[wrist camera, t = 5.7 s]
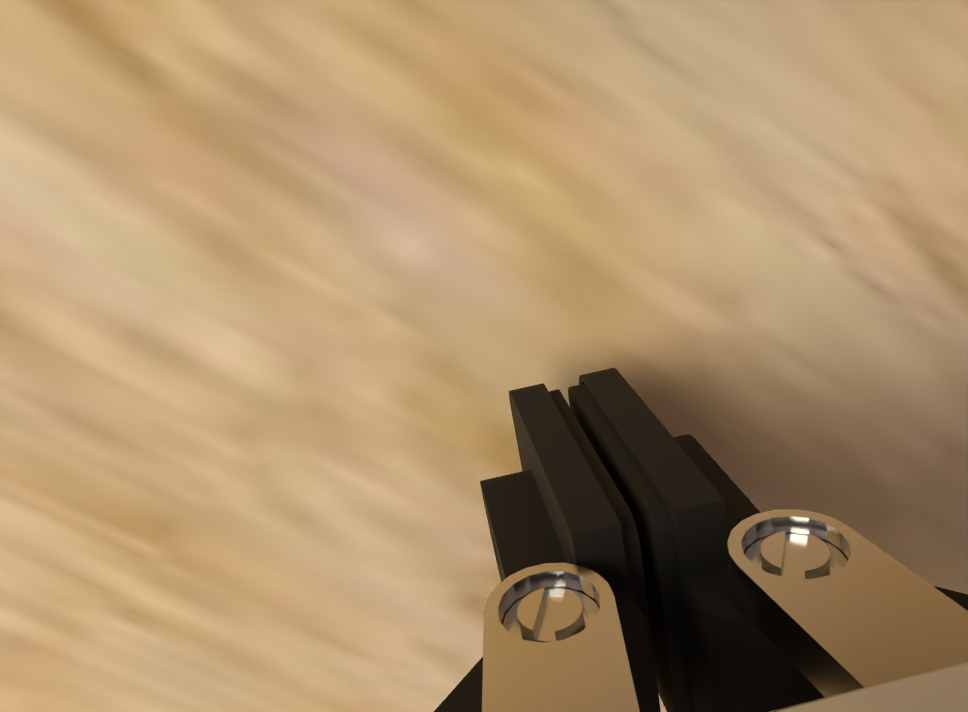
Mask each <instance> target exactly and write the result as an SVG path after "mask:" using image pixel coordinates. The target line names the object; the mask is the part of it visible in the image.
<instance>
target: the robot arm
mask: <svg viewBox="0 0 968 712" xmlns="http://www.w3.org/2000/svg"><path fill="white" fill-rule="evenodd" d="M568 395H569V402H570V407H569V405H568V404H567V402H566V400H565V399H564V397H563V395H562V393H561V392H560V390H554V391H550V392H548V390H547V388H546V387H545V385H544V384H539V385H534V386H529V387H525V388H520V389H516V390H511V391H509V398H510V405H511V410H512V416H513V421H514V427H515V432H516V438H517V443H518V449H519V454H520V460H521V465H522V471H523V472H518V473H514V474H510V475H505V476H501V477H496V478H492V479H487V480H483V481H480V484H481V489H482V495H483V500H484V504H485V509H486V514H487V519H488V524H489V528H490V533H491V538H492V543H493V547H494V552H495V556H496V561H497V565H498V569H499V574H500V578H501V583H500V584H499V585H497V586H496V587H495V589H494V590H493V592H492V593H491V595H490V596H489V597H488V599H487V603H486V607H485V611H484V636H483V657H482V658H481V659H480V660H479V662H478V663H477V664H476V665H475V666H474V667H473V668H472V669H471V671H470V672H469V673H468V674H467V675H466V676H465V677H464V678H463V680H462V681H461V682H460V683H459V684H458V685H457V686H456V687H455V689H454V690H453V691H452V692H451V693H450V694H449V695H448V696H447V698H446V699H445V700H444V701H443V702H442V703H441V704H440V705H439V706H438V708H437V709H436V710H435V711H434V712H661V711H660V703H659V695H660V697H661V699H662V702H663V704H664V706H665V708H666V710H667V712H968V595H967V594H963V593H959V592H955V591H951V590H947V589H943V588H939V587H935V586H932V585H931V584H929V583H928V582H926V581H925V580H924V579H922V578H921V577H919V576H918V575H917V574H915V573H914V572H912V571H911V570H910V569H908V568H907V567H905V566H904V565H903V564H901V563H900V562H898V561H897V560H896V559H894V558H893V557H891V556H890V555H889V554H887V553H886V552H884V551H883V550H882V549H880V548H879V547H877V546H876V545H875V544H873V543H872V542H870V541H869V540H868V539H866V538H865V537H863V536H862V535H860V534H859V533H858V532H856V531H855V530H853V529H852V528H851V527H849V526H847V525H846V524H844V523H842V522H840V521H838V520H836V519H835V518H833V517H829V516H826V515H823V514H820V513H816V512H813V511H805V510H797V509H783V510H771V511H766V512H762V513H760V512H759V510H758V509H757V508H756V507H755V506H754V505H753V504H752V503H751V501H750V500H749V499H748V498H747V497H746V496H745V495H744V494H743V492H742V491H741V490H740V489H739V488H738V487H737V486H736V485H735V483H734V482H733V481H732V480H731V479H730V478H729V477H728V476H727V474H726V473H725V472H724V471H723V470H722V469H721V468H720V467H719V465H718V464H717V463H716V462H715V461H714V460H713V459H712V458H711V456H710V455H709V454H708V453H707V452H706V451H705V450H704V449H703V447H702V446H701V445H700V444H699V443H698V442H697V441H696V440H695V438H693V437H692V436H691V435H682V436H678V437H672V436H671V435H670V433H669V432H668V431H667V430H666V429H665V427H664V426H663V425H662V424H661V423H660V421H659V420H658V419H657V418H656V417H655V415H654V414H653V413H652V412H651V410H650V409H649V408H648V407H647V406H646V404H645V403H644V402H643V401H642V400H641V398H640V397H639V396H638V395H637V394H636V392H635V391H634V390H633V389H632V388H631V386H630V385H629V384H628V383H627V382H626V380H625V379H624V378H623V377H622V376H621V374H620V373H619V372H618V371H617V370H616V369H615V368H612V369H607V370H602V371H598V372H593V373H589V374H584V375H580V377H579V385H577V386H572V387H569V389H568ZM658 693H659V695H658Z"/></svg>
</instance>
